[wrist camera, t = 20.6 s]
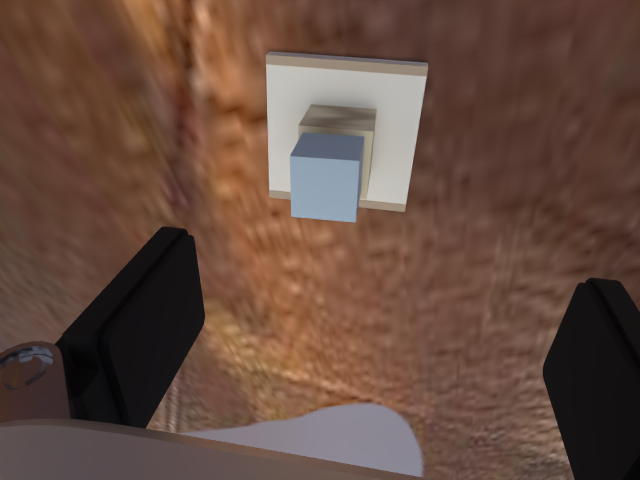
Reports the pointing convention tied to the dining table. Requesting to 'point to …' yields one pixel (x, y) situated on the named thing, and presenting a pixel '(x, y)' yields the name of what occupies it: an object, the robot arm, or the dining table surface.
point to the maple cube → (344, 130)
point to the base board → (347, 91)
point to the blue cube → (326, 176)
